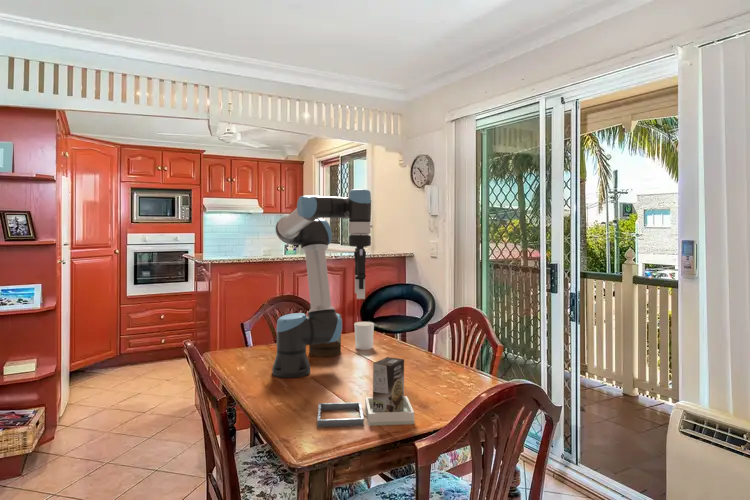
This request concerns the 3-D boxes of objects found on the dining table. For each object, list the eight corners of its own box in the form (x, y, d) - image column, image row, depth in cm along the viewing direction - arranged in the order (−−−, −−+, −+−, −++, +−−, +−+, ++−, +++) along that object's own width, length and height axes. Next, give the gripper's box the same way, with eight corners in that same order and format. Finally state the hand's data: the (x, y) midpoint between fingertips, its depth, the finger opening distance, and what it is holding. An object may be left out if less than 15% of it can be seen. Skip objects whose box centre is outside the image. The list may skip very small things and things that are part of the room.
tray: (368, 425, 135) (368, 413, 135) (365, 408, 149) (365, 397, 149) (414, 424, 137) (414, 412, 136) (407, 406, 150) (407, 396, 150)
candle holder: (374, 350, 222) (374, 325, 222) (353, 350, 222) (353, 325, 222) (374, 345, 232) (374, 321, 232) (354, 345, 232) (354, 321, 232)
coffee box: (390, 419, 137) (390, 366, 137) (371, 414, 141) (372, 362, 140) (404, 409, 145) (405, 358, 144) (387, 405, 149) (387, 355, 148)
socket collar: (317, 427, 134) (317, 420, 134) (318, 409, 148) (318, 403, 147) (363, 425, 135) (363, 419, 135) (361, 408, 149) (361, 402, 149)
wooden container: (345, 355, 213) (345, 307, 213) (313, 358, 208) (313, 309, 207) (335, 347, 227) (335, 303, 226) (305, 350, 221) (305, 305, 221)
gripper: (373, 234, 147) (373, 301, 148) (368, 234, 172) (367, 291, 172) (350, 234, 146) (350, 301, 147) (347, 234, 171) (347, 291, 172)
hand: (359, 296), depth 160 cm, fingers open, 13 cm apart
